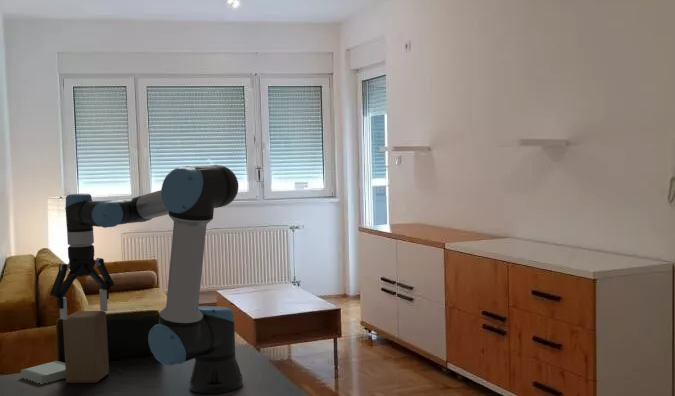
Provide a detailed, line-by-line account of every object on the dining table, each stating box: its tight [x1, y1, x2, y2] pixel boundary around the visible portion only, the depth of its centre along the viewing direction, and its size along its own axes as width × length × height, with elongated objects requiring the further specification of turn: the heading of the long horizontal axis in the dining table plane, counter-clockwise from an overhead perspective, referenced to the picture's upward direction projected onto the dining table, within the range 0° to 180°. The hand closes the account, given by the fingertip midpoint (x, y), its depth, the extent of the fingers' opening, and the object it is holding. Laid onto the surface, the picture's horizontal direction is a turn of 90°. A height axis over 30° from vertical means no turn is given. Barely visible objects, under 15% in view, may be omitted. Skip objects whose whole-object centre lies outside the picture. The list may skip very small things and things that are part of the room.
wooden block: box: [62, 310, 110, 384], centre depth 232 cm, size 10×10×20 cm
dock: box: [20, 360, 66, 385], centre depth 236 cm, size 12×12×3 cm
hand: (84, 314), depth 231 cm, fingers closed on wooden block, 13 cm apart
